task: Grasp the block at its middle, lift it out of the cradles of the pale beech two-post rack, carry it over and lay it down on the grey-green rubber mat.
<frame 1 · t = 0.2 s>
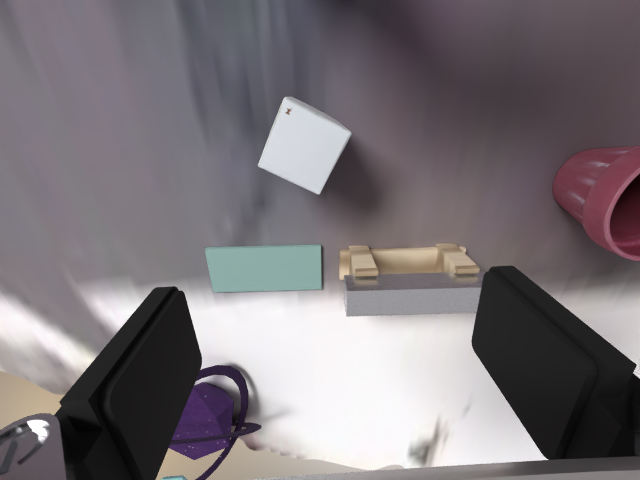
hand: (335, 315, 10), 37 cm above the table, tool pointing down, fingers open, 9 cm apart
decorative bottle: (208, 393, 62), on the table
rack: (400, 261, 51), on the table
supplement box: (304, 135, 43), on the table
block: (413, 285, 45), point 7 cm above the table, touching rack
mat: (265, 268, 51), on the table
plant pot: (581, 179, 46), on the table
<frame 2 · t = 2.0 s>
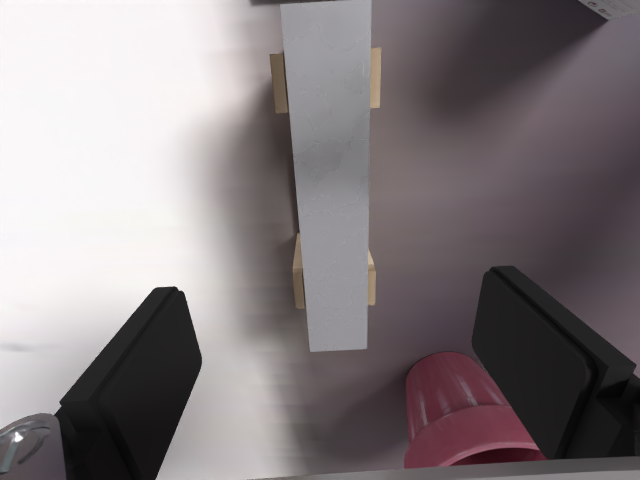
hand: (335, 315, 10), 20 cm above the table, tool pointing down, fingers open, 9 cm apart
rack: (327, 174, 28), on the table
block: (330, 196, 21), point 7 cm above the table, touching rack
plant pot: (440, 377, 39), on the table
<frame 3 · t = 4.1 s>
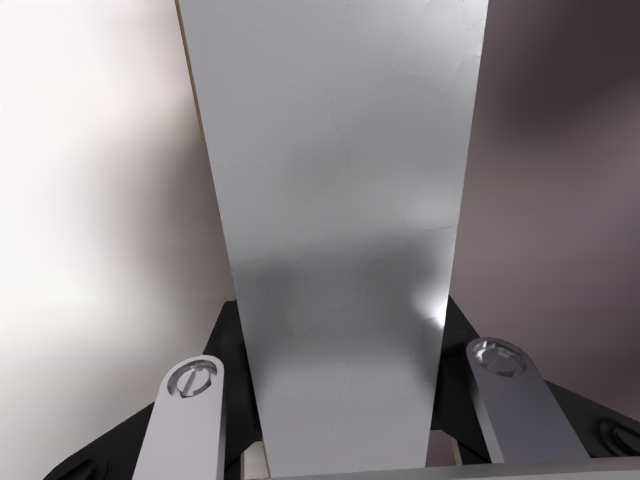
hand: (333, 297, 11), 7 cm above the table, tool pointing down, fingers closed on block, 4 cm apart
rack: (324, 225, 17), on the table
block: (333, 298, 11), point 7 cm above the table, touching gripper, rack
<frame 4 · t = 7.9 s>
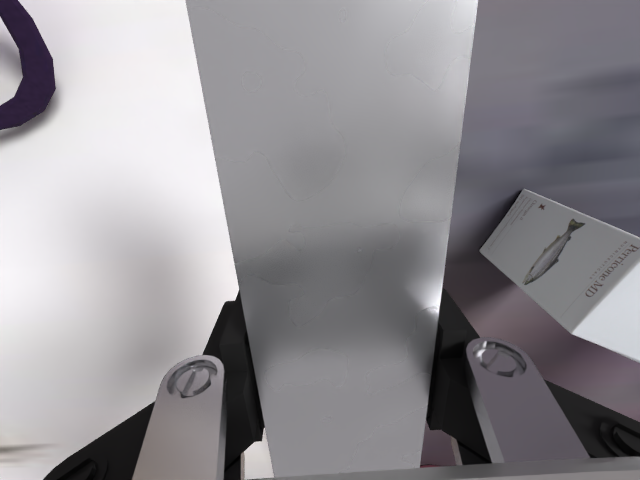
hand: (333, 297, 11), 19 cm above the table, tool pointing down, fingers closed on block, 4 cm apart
supplement box: (525, 233, 31), on the table
block: (333, 294, 11), point 19 cm above the table, touching gripper
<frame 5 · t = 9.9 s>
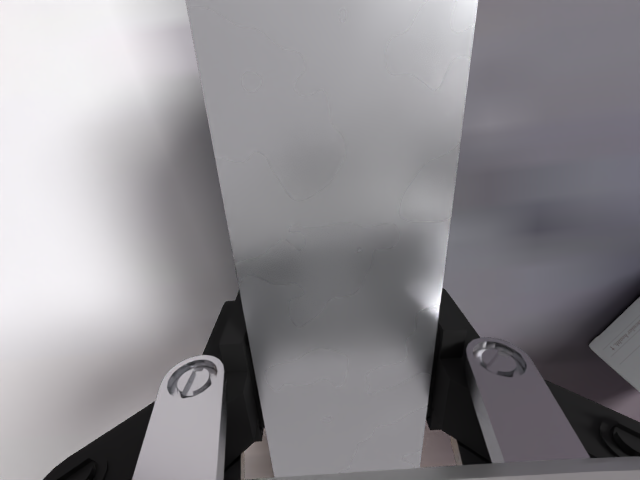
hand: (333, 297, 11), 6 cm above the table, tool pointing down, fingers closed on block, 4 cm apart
block: (332, 294, 11), point 5 cm above the table, touching gripper
when the fingers open (2 cm above the table, at t = 11.5 s): block drops 1 cm, resting on mat.
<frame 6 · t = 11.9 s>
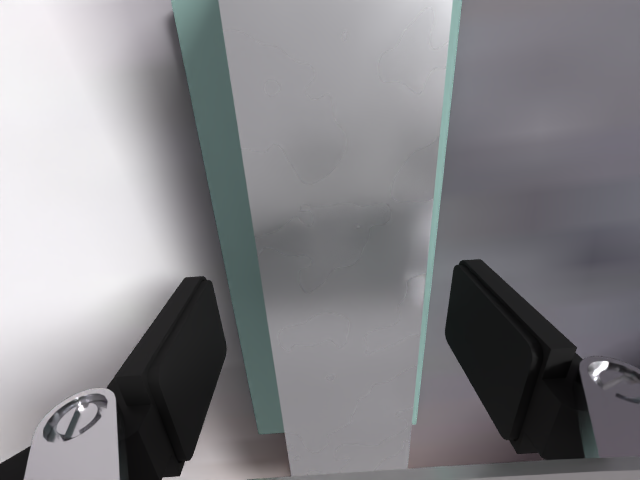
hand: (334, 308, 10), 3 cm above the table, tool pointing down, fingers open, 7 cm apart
block: (335, 275, 12), point 1 cm above the table, touching mat
mat: (329, 268, 13), on the table
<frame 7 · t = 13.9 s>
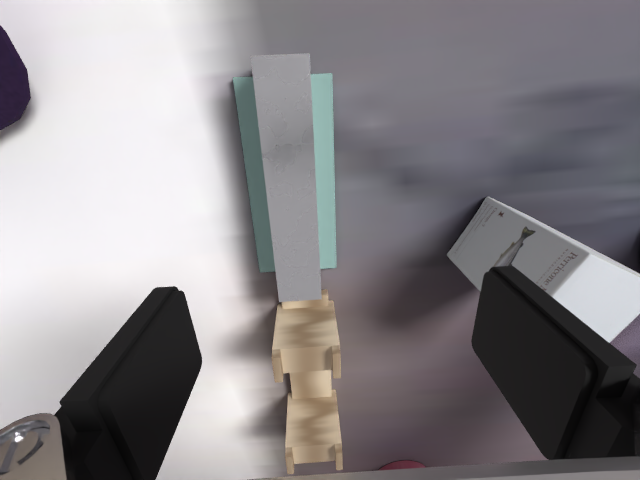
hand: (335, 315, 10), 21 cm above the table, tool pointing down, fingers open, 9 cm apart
rack: (309, 359, 38), on the table
supplement box: (490, 238, 33), on the table
block: (293, 185, 29), point 1 cm above the table, touching mat
mat: (291, 183, 29), on the table
plant pot: (399, 475, 50), on the table
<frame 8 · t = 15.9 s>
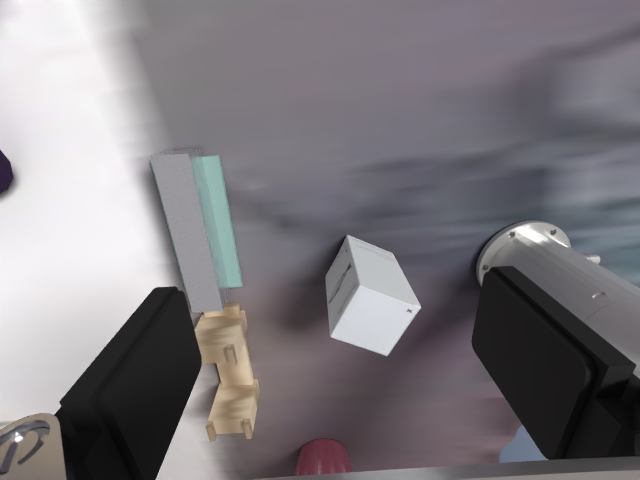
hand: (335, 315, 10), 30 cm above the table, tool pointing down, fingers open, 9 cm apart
rack: (233, 355, 50), on the table
supplement box: (357, 264, 44), on the table
block: (201, 229, 40), point 1 cm above the table, touching mat
mat: (201, 227, 41), on the table
plant pot: (322, 452, 60), on the table
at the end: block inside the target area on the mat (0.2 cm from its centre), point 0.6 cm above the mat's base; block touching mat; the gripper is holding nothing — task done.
